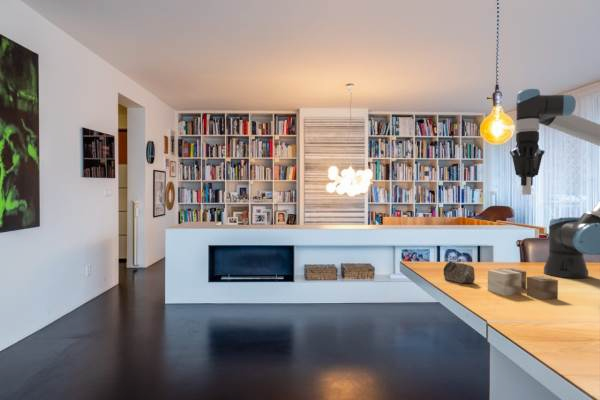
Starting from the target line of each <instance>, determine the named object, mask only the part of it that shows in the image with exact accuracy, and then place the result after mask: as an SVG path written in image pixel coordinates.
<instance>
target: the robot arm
mask: <svg viewBox="0 0 600 400" xmlns="http://www.w3.org/2000/svg"><path fill="white" fill-rule="evenodd" d="M576 102H577V101H576V98H575V97H574V96H573V95H571V94H570V95H569V94H552V95H551V94H549V95H548V94H547V95H546V94H545V95H544V94H543V95H542V94H541V91H540V89H538V88H526V89H523V90H520V91H518V93H517V94H516V102H515V105H516V106H515V107H516V109H515V110H516V120H515V121H516V123H515V124H516V126H515V127H516V129H515V130H516V132H517V133H515V142H516V145H515V148H514V149H512V150H509V154H510V155H511V158H512V163H513V168H514V171H515V175H516V176H518V178H520V185H521V186H522V191H521V192H522V195H524V196H526V195H532V187H533V183H534V182H533V181H534V180H533V178H534V177H537V176H538V175H539V171H540V168H541V163H542V159H543V156H544V154H545V153H546V152H545V150H544V149H543V150H542V149H541V148H540V147H539V144H538V143H539V140H540V132H539V130H540V125H543V126H546V127H549V128H551V129H554V130H557V131H559V132H561V133H565V134H567V135H570V136H572V137H574V138H577V139H580V140H583V141H584V142H585V141H586V142H588V143H590V144H593V145H596V146H598V147H600V124H599V123H598V122H595V121H592V120H589V119H586V118H584V117H581V116H578V115H577V114H573V113H574V111H575V109H576V106H577V105H576ZM584 255H588V256H600V200H599V201H598V202H597V203H596V205H595V206H594V208H593V209H592V210H590V211H584V213H583V214H582V215H581V216H580V217H577V216H575V217H574V216H573V217H571V216H570V217H569V216H568V217H567V216H566V217H565V216H563V217H555V218H554V217H553V218H551V219H550V220H549V225H548V255H547V258H546V261H545V264H544V266H543V273H544V274H545V275H549V276H553V277H558V278H559V277H560V278H569V279H584V278H585V279H587V278H589V270H588V269H587V265H586V261H585V258H584Z"/></svg>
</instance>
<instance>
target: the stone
mask: <svg viewBox="0 0 600 400" xmlns="http://www.w3.org/2000/svg"><path fill="white" fill-rule="evenodd" d="M443 276H444V277H443V278H444V279H445V280H448V281H450V282H455V283H459V284H465V283H468V284H473V283H474V282H475V279H476V277H475V276H476V275H475V269H474V266H473V265H470V264H466V263H462V262H456V261H453V260H450V261H449V262H447V263H446V264H445V266H444V268H443Z"/></svg>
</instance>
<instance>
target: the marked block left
mask: <svg viewBox="0 0 600 400" xmlns="http://www.w3.org/2000/svg"><path fill="white" fill-rule="evenodd" d="M558 284H559V281H558V279H555V278H551V277H547V276H544V275H542V276H538V275H537V276H536V275H535V276H526V290H525V291H526V296H528V297H531V298H534V299H536V300H539V301H543V300H545V301H546V300H547V301H549V300H551V301H552V300H558V297H559V293H558V292H559V291H558V290H559V289H558V288H559V285H558Z"/></svg>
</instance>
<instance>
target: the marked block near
mask: <svg viewBox="0 0 600 400" xmlns="http://www.w3.org/2000/svg"><path fill="white" fill-rule="evenodd" d="M505 269H506V270H510V271H515V272H519V273H522V280H521V290H525V289H526V290H527V271H526V270H522V269H518V268H514V267H512V268H509V267H508V268H505Z"/></svg>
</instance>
